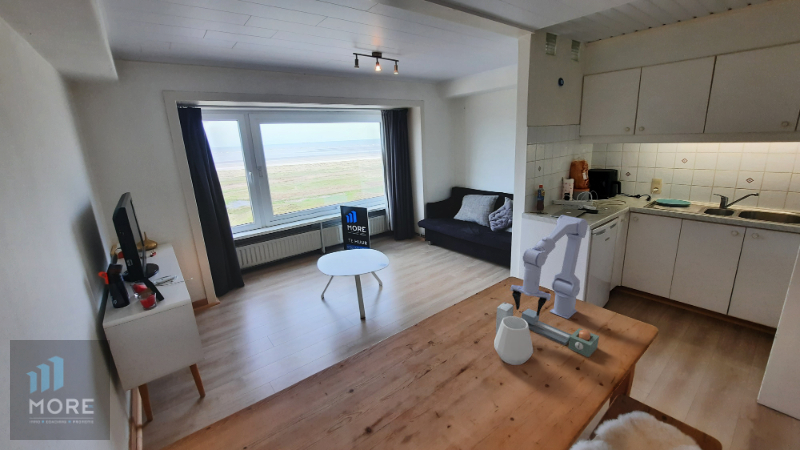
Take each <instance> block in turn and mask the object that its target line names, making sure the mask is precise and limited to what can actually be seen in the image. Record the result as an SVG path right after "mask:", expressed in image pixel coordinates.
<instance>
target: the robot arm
mask: <svg viewBox="0 0 800 450" xmlns="http://www.w3.org/2000/svg"><path fill="white" fill-rule="evenodd" d="M588 227H589V223H588V221H587V220H586V219H585V218H579V217H574V216H569V215H565V214H561V215H560V216H559V217H558V218H557V220H556V224H555V226H554V228H553V229H552V231H551V232H550V233H549V234H548V236H544V237H542V238H541V239H540V240H539V241H538V242H537V243H536V244H535V245H534V246H533V247H532V248H528V249H527V248H526V250H525V251H524V253H523V256H522V262H523V266H524V271H523V272H524V274H523V282H522V285H516V284H511V286H510V290H509V291H510V292H512V293H511V295H512V298H513V301H514V303H515V309H516V310H517V311H519V309H520V306H521V297H522V294H524V295H525V296H527V297H531V296H532V297H534V298H538V301H537V310H536V312H537V316H539V317H540V314H541V311H542V308H543V307H544V305H545V304H546V302H547V301H548V302H550V300H551V296H552V294H550V293H547V292H545V291H542V290H540V281H541V274H542V267H543V266H544V265H545V263H546V261H547V259H548V256H549V255H550V253H551V252H552V251H554V249H555V248H556V243H557V242H558V241H560V240H561V239H562V238H563V237H564V236H566V237H567V242H566V247H565V251H564V256H563V260H562V266H561V267H562V268H561V272H558V273H556V274H555V275H554V277H553V280H552V282H551V289H552V290H553V293H554V302H553V303H554V305H553V308H551V309H550V310H549V312H550V313H551V314H555V315H556V316H559V317H562V318H564V319H567V320H568V319H570V318H571V317H572V316H574V314H575V313H577V312H578V310H577V309H576V302H577V296H578V295H579V294H580V289H581V288H580V287H581V285H580V283H581V280H580V279H579V278H578V276H576V274H575V273H576V272H575V271H576V267H577V264H578V263H577V262H578V257H579V253H580V248H581V243H582V240H583V239H585V238H586V236H587V231H588Z"/></svg>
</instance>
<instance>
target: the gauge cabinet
mask: <svg viewBox="0 0 800 450" xmlns="http://www.w3.org/2000/svg"><path fill="white" fill-rule="evenodd" d="M580 330H584V329H582V328H580V327H579V328H577V329H576V331H574V332H573V333H572V334H571V336H570V340H569V342H568V349H569V350H571V351H573V352H576V353H578V354H580V355H582V356H583V357H586V358H590V357H591V356H592V354H594V352H595V351H596V350H597V349H598V348H599V347H598V345H599V339H600V335H597V334H594V333H593V332H590V334H591V335H590V341H589V342H588V341H586V340H583V339H581V338H579V331H580Z"/></svg>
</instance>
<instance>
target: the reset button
mask: <svg viewBox="0 0 800 450" xmlns="http://www.w3.org/2000/svg"><path fill="white" fill-rule="evenodd" d="M590 333H591V332H590V331H588V330H586V329H583V330H580V331H579V338H581V339H583V340H586V341H588V342H589V341H590V335H591V334H590Z"/></svg>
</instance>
